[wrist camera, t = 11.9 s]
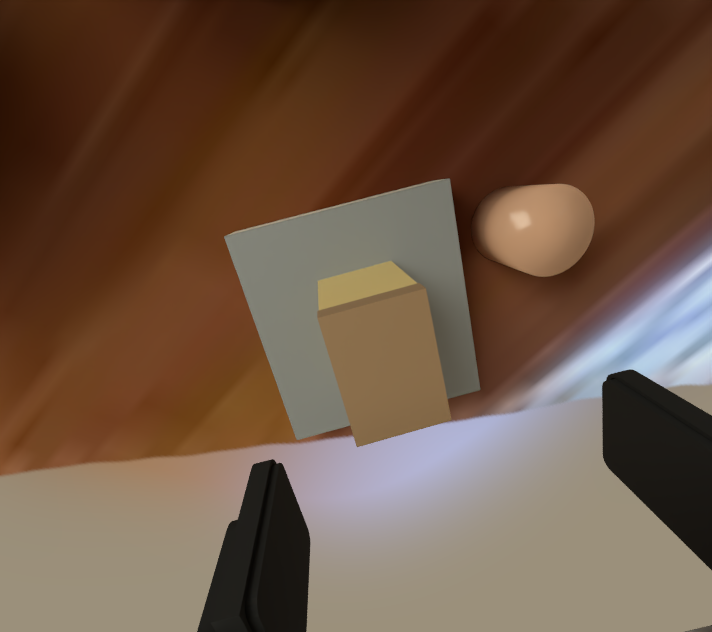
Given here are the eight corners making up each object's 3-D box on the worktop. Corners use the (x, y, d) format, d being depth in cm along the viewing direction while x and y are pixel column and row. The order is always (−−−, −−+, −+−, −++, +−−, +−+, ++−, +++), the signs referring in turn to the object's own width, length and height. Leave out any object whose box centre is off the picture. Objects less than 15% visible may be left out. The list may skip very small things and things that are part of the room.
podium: (433, 180, 23) (449, 178, 20) (463, 370, 28) (480, 389, 25) (235, 231, 23) (224, 236, 20) (298, 414, 28) (296, 440, 25)
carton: (391, 259, 22) (426, 288, 15) (413, 357, 24) (451, 420, 17) (316, 280, 22) (317, 318, 15) (345, 376, 24) (356, 447, 17)
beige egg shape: (539, 177, 24) (593, 173, 19) (543, 251, 26) (595, 264, 21) (466, 196, 24) (503, 196, 19) (475, 269, 26) (512, 286, 21)
